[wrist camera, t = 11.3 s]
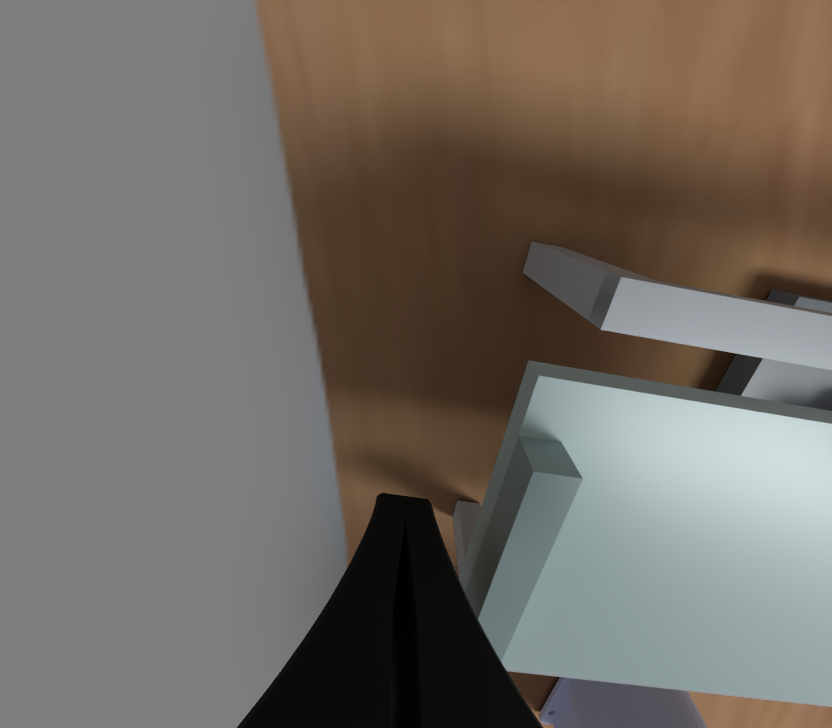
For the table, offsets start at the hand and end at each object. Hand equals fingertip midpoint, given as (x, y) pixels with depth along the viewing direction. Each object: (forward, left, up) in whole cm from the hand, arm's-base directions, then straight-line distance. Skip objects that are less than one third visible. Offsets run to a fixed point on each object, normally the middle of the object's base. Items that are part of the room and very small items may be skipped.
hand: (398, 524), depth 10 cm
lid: (0, -10, 0) cm, 10 cm away
